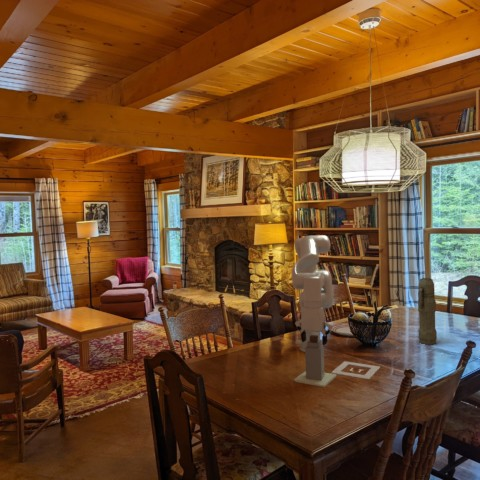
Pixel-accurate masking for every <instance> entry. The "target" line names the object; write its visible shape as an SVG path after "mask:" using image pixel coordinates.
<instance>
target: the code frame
mask: <svg viewBox="0 0 480 480" xmlns="http://www.w3.org/2000/svg"><path fill="white" fill-rule="evenodd" d="M348 366H354V367H359V369H358V373H361V372H362V371H363V372H364V371H365V370H364V369H361V368H367V369H369V370H368V371H367V372H366V373H365V374H358V373H354V367H350V368H351V369H349V372H347V371H343V370H344V369H345V368H347V367H348ZM380 368H381V366H378V365H374V364H373V365H371V364H365V363H360V362H359V363H358V362H351V361H343V362H342V363H340V364H339V365H338V366H337V367H336V368H334V370H332V371H331V374H337V375H339V376H347V377H352V378H358V379H363V380H370V379H371V378H372V377H373V376H374V375H375V374H376V373H377V372H378V371H379V369H380ZM351 372H352V373H351Z"/></svg>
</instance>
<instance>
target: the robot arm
mask: <svg viewBox="0 0 480 480" xmlns="http://www.w3.org/2000/svg"><path fill="white" fill-rule="evenodd" d="M294 249H295V252H296V255H297V257H298V259H297V261H296V262H295V263H294V265H293V267H292V270H291V283H292V286H293V288H294V289H295V290H299V291H300V290H303V291H301V292H300V293H299V296H298V302H299V306H300V319H299V320H297V321H295V323H294V324H295V326H296V328H297V330H298V331H299V333H300V339H301V340H300V339H296V340H295V344H296V345H300V346H299V350H300V351H301V352H304V353H305V348H306V346H307V342H308V340H309V339H310V336H311V335H318V340H321V345H324V346H325V345H327V343H328V335H329V334H330V333H331V332H332V331H331V330H332V328H333V326H332V324H330V323H329V322H327V320H326V313H325V309H330V308H331V307H332V306H333V303H334V300H333V297H334V296H333V281H332V280H333V279H332V274H331V272H330V270H328V269H317V264H319V261H320V255H319V254H327V253H329V252H330V250H331V240H330V238H329V236H327V235H324V234H321V235H319V234H318V235H306V236H303V237H299V238H296V240H295V241H294ZM322 289H323V290H322ZM326 327H327V328H328V329H326ZM321 334H322V336H321Z"/></svg>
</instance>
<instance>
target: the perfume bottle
mask: <svg viewBox="0 0 480 480" xmlns="http://www.w3.org/2000/svg"><path fill="white" fill-rule="evenodd" d="M324 346H325V345H322V339H320V340H318V335H311V336H310V339H309V340H308V342H307V346H306V348H305V352H304V353H305V354H304V355H305V356H304V357H305V358H304V359H305V371H306V379H311V380H322V379H323V377H324V372H325V351H324V349H325V348H324Z"/></svg>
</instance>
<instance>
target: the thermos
mask: <svg viewBox="0 0 480 480" xmlns="http://www.w3.org/2000/svg"><path fill="white" fill-rule="evenodd" d="M435 294H436V293H435V282H434V280H433V279H432V278H431V277H422V278H419V282H418V299H417V310H418V317H419V318H418V320H419V325H418V326H419V328H418V343H419V344H420V343H421V344H420V345H423V344H425V345H424V346H435V345H437V339H438V338H437V337H438V336H437V330H436V311H437V305H436V303H437V301H436V298H435V297H436V296H435ZM434 344H435V345H434Z"/></svg>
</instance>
